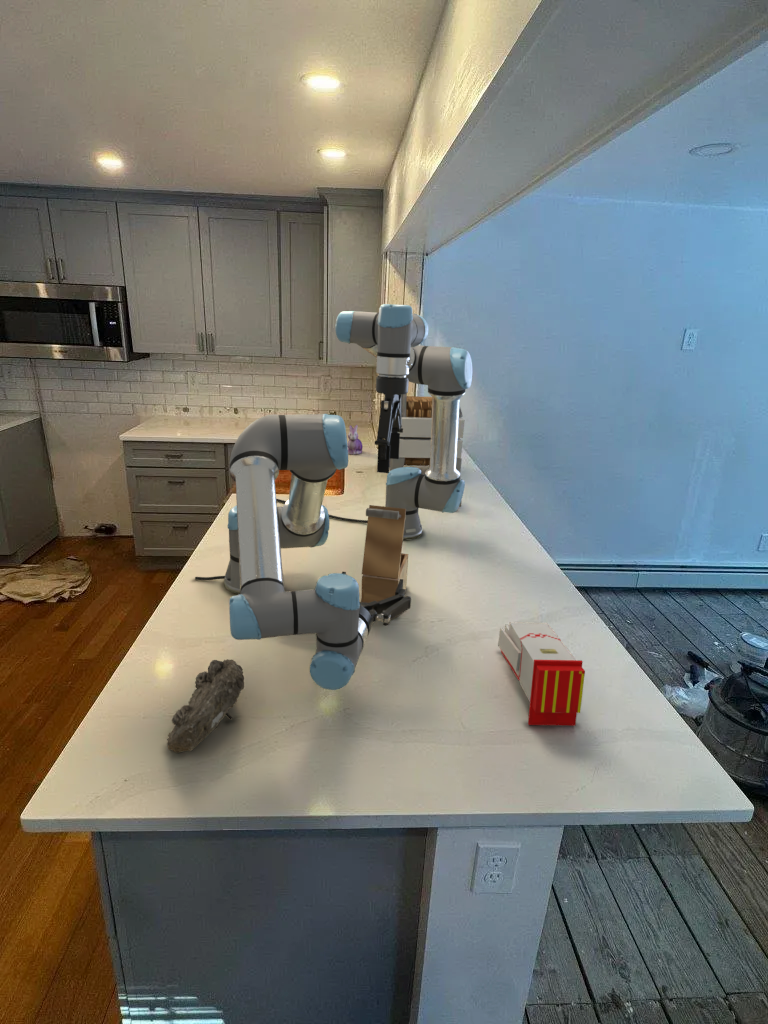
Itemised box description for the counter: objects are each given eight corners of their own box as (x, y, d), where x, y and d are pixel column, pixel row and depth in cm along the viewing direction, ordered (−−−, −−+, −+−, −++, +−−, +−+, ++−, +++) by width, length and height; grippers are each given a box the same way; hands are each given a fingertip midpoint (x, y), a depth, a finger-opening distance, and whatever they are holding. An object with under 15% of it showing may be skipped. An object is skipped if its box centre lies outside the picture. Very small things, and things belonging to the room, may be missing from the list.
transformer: (382, 463, 289) (386, 382, 275) (445, 464, 293) (451, 384, 279) (390, 482, 257) (394, 392, 243) (460, 483, 261) (468, 394, 247)
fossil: (192, 660, 117) (244, 628, 112) (224, 691, 120) (276, 661, 115) (142, 746, 98) (202, 712, 93) (182, 779, 101) (242, 748, 96)
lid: (370, 505, 144) (363, 503, 136) (406, 509, 143) (401, 507, 135) (362, 574, 144) (355, 576, 136) (398, 578, 142) (393, 580, 134)
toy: (544, 607, 134) (594, 667, 105) (539, 659, 137) (586, 732, 108) (493, 606, 134) (529, 666, 105) (489, 658, 137) (523, 731, 107)
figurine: (350, 455, 301) (351, 427, 296) (342, 451, 309) (343, 423, 304) (366, 454, 305) (367, 426, 300) (358, 449, 314) (359, 423, 309)
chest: (374, 584, 163) (375, 550, 159) (406, 588, 161) (408, 553, 158) (360, 613, 147) (361, 576, 143) (396, 618, 146) (398, 580, 142)
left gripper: (289, 636, 115) (320, 587, 135) (411, 654, 111) (424, 602, 131) (289, 603, 112) (320, 559, 132) (413, 621, 108) (427, 572, 128)
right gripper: (399, 382, 118) (394, 480, 125) (416, 371, 141) (411, 454, 148) (364, 380, 119) (361, 477, 126) (386, 369, 142) (383, 452, 150)
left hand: (372, 580), depth 131 cm, fingers open, 13 cm apart
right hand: (388, 465), depth 137 cm, fingers open, 13 cm apart
